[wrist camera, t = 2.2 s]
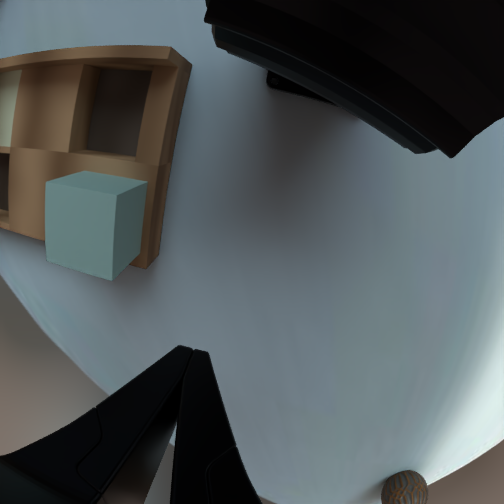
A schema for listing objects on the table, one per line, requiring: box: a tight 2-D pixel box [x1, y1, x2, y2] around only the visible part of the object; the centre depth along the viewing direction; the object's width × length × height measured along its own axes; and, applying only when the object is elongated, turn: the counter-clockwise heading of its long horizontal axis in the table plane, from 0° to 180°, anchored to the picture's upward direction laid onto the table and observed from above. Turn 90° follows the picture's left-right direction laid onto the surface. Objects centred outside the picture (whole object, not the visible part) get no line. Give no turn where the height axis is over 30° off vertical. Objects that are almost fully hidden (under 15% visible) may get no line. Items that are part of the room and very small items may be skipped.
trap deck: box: [0, 45, 192, 269], centre depth 16 cm, size 18×13×4 cm
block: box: [45, 171, 148, 281], centre depth 16 cm, size 4×4×4 cm
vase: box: [381, 470, 428, 504], centre depth 28 cm, size 7×7×9 cm
